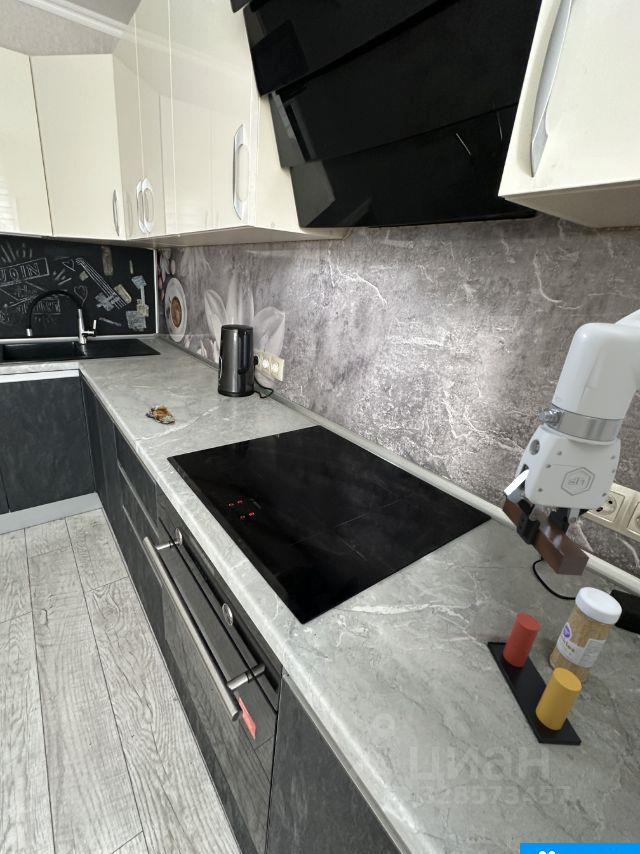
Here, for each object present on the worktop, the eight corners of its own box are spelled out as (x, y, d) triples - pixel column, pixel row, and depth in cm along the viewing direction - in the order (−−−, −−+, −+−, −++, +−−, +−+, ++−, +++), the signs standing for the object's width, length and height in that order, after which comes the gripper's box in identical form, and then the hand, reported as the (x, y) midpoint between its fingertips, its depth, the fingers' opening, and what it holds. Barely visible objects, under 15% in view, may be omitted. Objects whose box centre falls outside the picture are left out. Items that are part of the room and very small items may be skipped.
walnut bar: (581, 576, 50) (589, 557, 49) (556, 574, 50) (564, 555, 49) (521, 511, 63) (526, 495, 62) (501, 510, 63) (506, 494, 62)
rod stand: (519, 646, 59) (535, 607, 56) (580, 745, 47) (604, 702, 44) (486, 645, 59) (501, 605, 56) (539, 743, 47) (560, 699, 44)
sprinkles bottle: (541, 653, 58) (571, 584, 53) (571, 655, 58) (604, 586, 53) (562, 684, 54) (596, 612, 49) (594, 686, 54) (632, 614, 49)
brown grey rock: (163, 425, 128) (163, 415, 126) (143, 415, 135) (143, 405, 134) (181, 420, 133) (181, 410, 132) (161, 410, 140) (161, 401, 139)
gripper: (533, 429, 46) (493, 553, 53) (672, 439, 46) (614, 562, 53) (502, 408, 53) (469, 519, 60) (622, 416, 53) (576, 527, 60)
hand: (537, 538), depth 56 cm, fingers closed on walnut bar, 3 cm apart
